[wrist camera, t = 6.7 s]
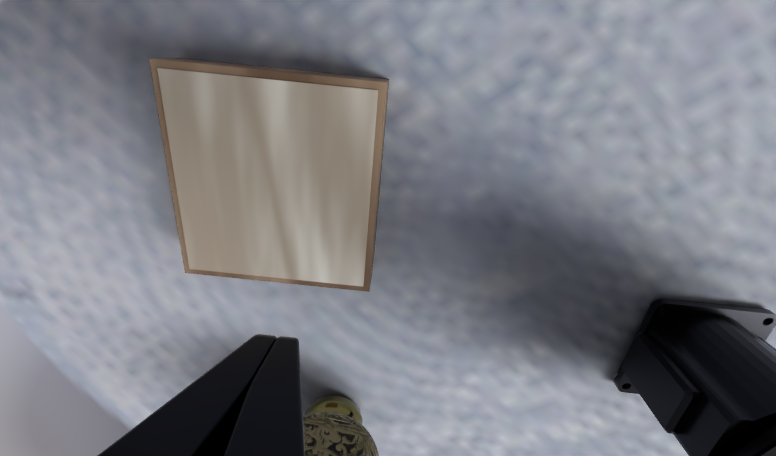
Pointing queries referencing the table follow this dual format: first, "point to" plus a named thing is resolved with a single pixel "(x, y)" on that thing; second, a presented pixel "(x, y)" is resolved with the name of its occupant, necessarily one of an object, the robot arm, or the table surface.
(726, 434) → the robot arm
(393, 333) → the table surface
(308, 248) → the wooden block
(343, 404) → the cup
